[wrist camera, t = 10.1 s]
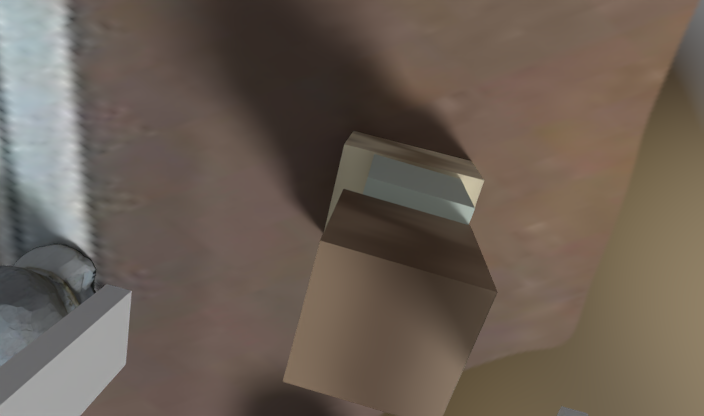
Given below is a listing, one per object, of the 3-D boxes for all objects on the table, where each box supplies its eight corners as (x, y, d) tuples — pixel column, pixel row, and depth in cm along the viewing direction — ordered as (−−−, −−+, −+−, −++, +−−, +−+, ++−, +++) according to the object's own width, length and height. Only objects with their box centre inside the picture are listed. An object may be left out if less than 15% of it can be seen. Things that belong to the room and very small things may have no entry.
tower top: (338, 276, 27) (325, 322, 22) (374, 153, 24) (367, 176, 20) (416, 299, 27) (419, 350, 22) (461, 179, 24) (474, 208, 20)
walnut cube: (313, 298, 22) (282, 381, 16) (343, 188, 20) (320, 240, 14) (428, 332, 22) (437, 427, 16) (470, 225, 20) (497, 292, 14)
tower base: (328, 237, 32) (315, 268, 27) (353, 130, 29) (344, 144, 24) (435, 265, 31) (440, 301, 27) (471, 160, 29) (484, 180, 24)
